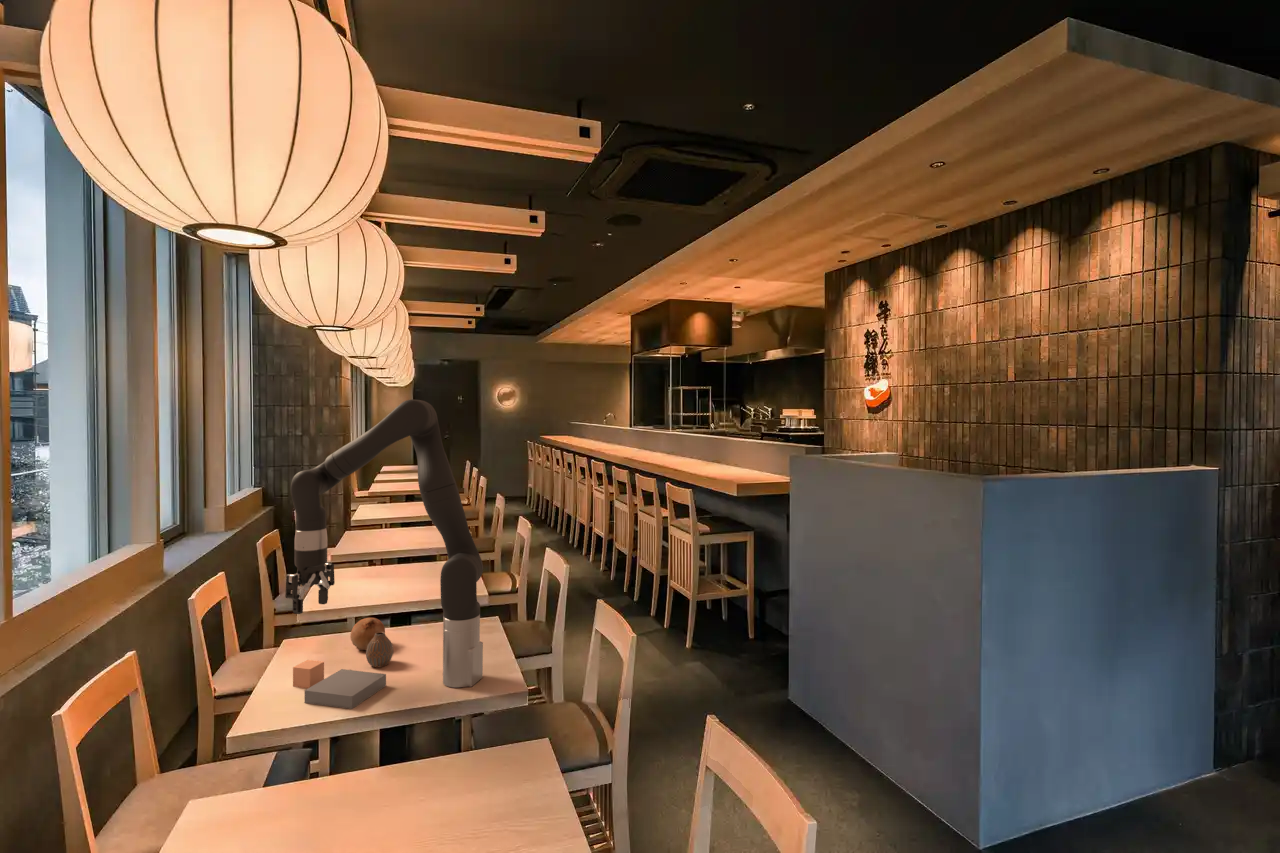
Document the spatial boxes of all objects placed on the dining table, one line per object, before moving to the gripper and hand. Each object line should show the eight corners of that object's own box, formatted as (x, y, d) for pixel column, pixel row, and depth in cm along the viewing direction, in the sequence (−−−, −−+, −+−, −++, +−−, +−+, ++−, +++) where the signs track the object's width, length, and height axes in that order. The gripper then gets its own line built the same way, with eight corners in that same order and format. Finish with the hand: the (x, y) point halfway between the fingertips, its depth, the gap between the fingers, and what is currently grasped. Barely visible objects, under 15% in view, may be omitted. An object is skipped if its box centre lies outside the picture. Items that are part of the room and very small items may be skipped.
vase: (397, 660, 175) (397, 629, 174) (385, 670, 168) (385, 638, 168) (374, 659, 175) (374, 628, 175) (360, 668, 168) (361, 637, 168)
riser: (386, 685, 158) (386, 674, 158) (351, 709, 145) (352, 696, 145) (341, 680, 161) (341, 669, 161) (304, 702, 148) (304, 690, 148)
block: (324, 680, 161) (324, 661, 161) (309, 688, 156) (309, 669, 156) (307, 678, 162) (307, 659, 162) (292, 686, 157) (293, 667, 157)
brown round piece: (373, 661, 181) (378, 635, 177) (342, 652, 181) (346, 626, 177) (388, 639, 190) (392, 614, 186) (358, 630, 190) (362, 605, 186)
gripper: (302, 553, 152) (302, 618, 152) (342, 541, 166) (342, 601, 166) (276, 551, 154) (276, 615, 154) (319, 540, 168) (318, 599, 168)
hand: (310, 608), depth 160 cm, fingers open, 8 cm apart
